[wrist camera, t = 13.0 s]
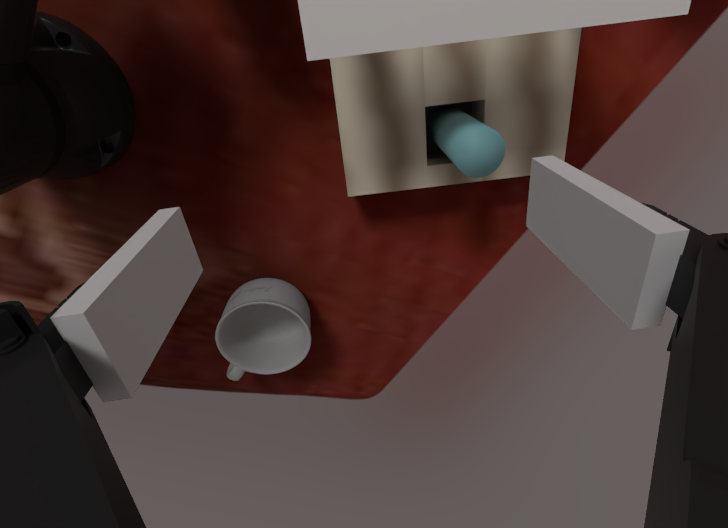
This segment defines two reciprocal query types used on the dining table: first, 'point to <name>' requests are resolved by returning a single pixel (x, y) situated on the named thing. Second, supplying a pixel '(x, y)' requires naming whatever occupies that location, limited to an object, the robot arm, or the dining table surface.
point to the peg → (466, 141)
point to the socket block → (458, 89)
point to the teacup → (264, 328)
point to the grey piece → (455, 21)
